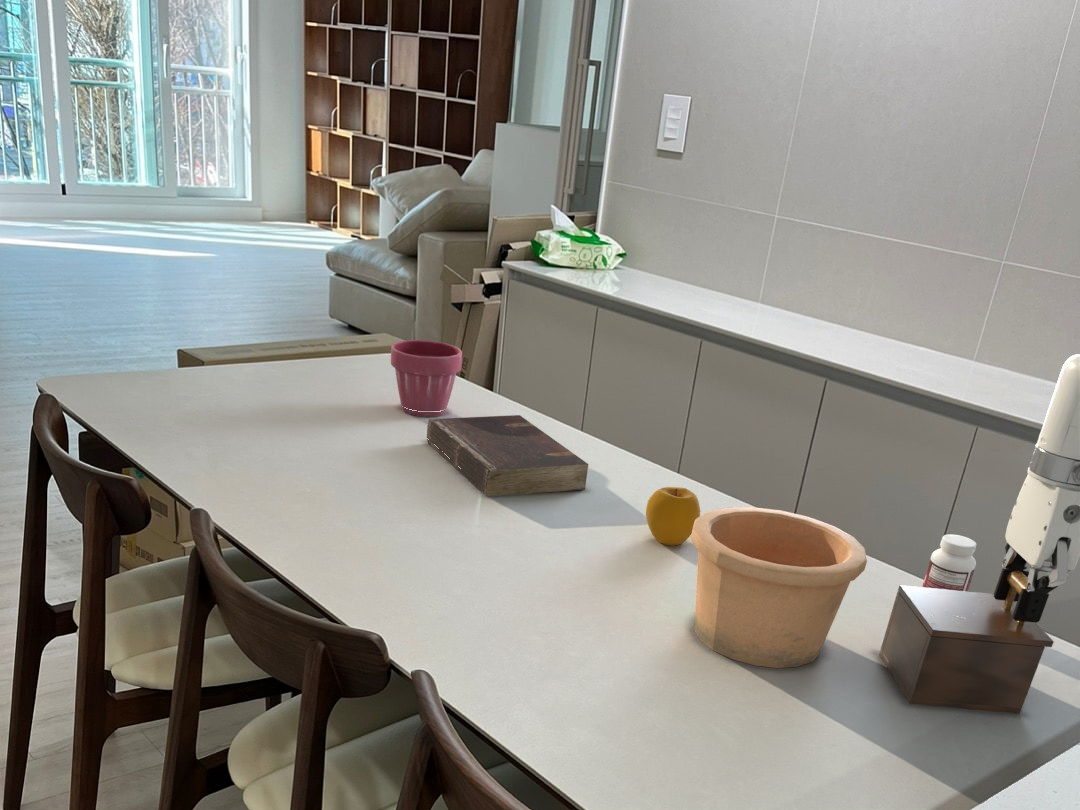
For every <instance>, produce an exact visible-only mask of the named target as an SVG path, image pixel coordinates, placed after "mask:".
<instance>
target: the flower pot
mask: <svg viewBox="0 0 1080 810" xmlns="http://www.w3.org/2000/svg"><path fill="white" fill-rule="evenodd" d="M462 363H463V351H462V349H461V348H459V347H457V346H456V345H453V344H449V343H446V342H443V341H442V342H441V341H435V340H428V339H427V340H426V339H405V340H400V341H396V342H394V343H393V344H391V347H390V365H391V366H392V367H393V368H394V370H395V377H396V385H397V391H398V395H399V400H400V406H401V405H402V406H403V407H402V406H401V407H400V408H401V411H403V412H404V413H406V414H408V415H412V416H415V417H416V416H417V417H425V418H426V417H427V418H430V417H432V418H433V417H440V416H442V415H445V414H446V411H447V409H446V408H448V405H449V403H450V399H451V397H452V391H453V388H454V385H455V381H456V380H455V379H456V376H457V374H458V373H459V372H460V371H461V370H462ZM404 407H406V408H408V409H406V408H404ZM409 409H412V410H417V411H412V410H409ZM444 409H446V410H444ZM440 410H444V411H441V412H418V411H440Z"/></svg>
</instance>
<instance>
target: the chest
mask: <svg viewBox="0 0 1080 810" xmlns="http://www.w3.org/2000/svg"><path fill="white" fill-rule="evenodd" d="M1045 648H1046V647H1044V646H1033V645H1022V644H1011V643H1001V642H990V641H979V640H968V639H958V638H947V637H936V636H931V635H930V633H929V632H928V631H927V629H926V628H925V627H924V625H923V624H922V622H921V621H920V620H919V618H918V617H917V616H916V614H915V613H914V612H913V610H912V609H911V607H910V606H909V605H908V603H907V602H906V601H905V599H904V598H903V597H902V595H901V594H900V593H899V591H898V590H897V592H896V595H895V598H894V602H893V607H892V609H891V612H890V616H889V619H888V623H887V626H886V629H885V633H884V636H883V640H882V643H881V647H880V650H879V653H878V654H879V656H880V658H881V660H882V662H883V663H884V664H885V665H884V666H886V668H887V670H888V671H889V673H890V675H891V676H892V678H893V679H894V681H895V682H896V684H897V686H898V687H899V689H900V691H901V693H902V694H903V695H904V697H905V698H906V701H907V702H908V703H909V705H917V706H919V705H920V706H929V707H939V708H952V709H960V710H961V709H963V710H974V711H986V712H996V713H1005V714H1006V713H1008V714H1009V713H1010V714H1016V715H1017V714H1018V715H1020V714H1021V712H1022V709H1023V708H1024V707H1023V706H1024V704H1025V701H1026V699H1027V696H1028V694H1029V691H1030V688H1031V685H1032V682H1033V680H1034V677H1035V675H1036V673H1037V669H1038V667H1039V664H1040V662H1041V659H1042V656H1043V653H1044V651H1045Z"/></svg>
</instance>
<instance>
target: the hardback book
mask: <svg viewBox="0 0 1080 810" xmlns="http://www.w3.org/2000/svg"><path fill="white" fill-rule="evenodd" d="M426 428H427V429H426V440H427V444H428V445H429V446H430V447H432V449H433V450H434V451H436V452H437V453H438V454H439V455H440V456H441V457H442V458H443V459H444V460H446V461H447V463H449V465H451V466H452V467H453V468H454V469H455V470H456V471H457V472H458V473H459V474H461V475H462V476H463V477H464V478H465V479H466V480H467V481H468V482H470V484H472V486H474V487H475V488H476V489H477V490H478V491H479V492H480V493H483V494H484V496H486V497H499V496H516V495H517V496H518V495H533V494H534V495H535V494H546V493H547V494H548V493H549V494H550V493H560V492H562V493H563V492H574V491H585V490H586V484H587V477H588V470H589V463H588V462H586V461H585V460H584V459H582V458H580V457H579V455H576V454H575V453H574V452H572V451H571V450H570V449H568V448H567V447H565V446H564V445H563V444H561V443H559V442H558V441H557V440H556V439H554V438H553V437H551V436H550V435H549V434H547V433H546V432H545V431H543V430H542V429H540V428H539V427H538V426H536V425H534V424H533V423H532V422H530V421H529V420H527V419H526V418H525V417H523V416H522V415H520V414H515V415H514V414H513V415H512V414H511V415H493V416H492V415H491V416H469V417H468V416H467V417H466V416H465V417H447V418H446V417H445V418H429V419H428V422H427V427H426ZM427 438H428V439H429V440H428V439H427ZM434 444H435V445H436V446H437V447H438V448H439V449H438V448H437V447H436V446H435V445H434ZM442 451H443V452H442ZM444 453H445V454H446V455H447V456H448V457H449V458H450V459H449V458H448V457H447V456H446V455H445V454H444ZM458 466H459V467H460V468H461V469H460V468H459V467H458Z"/></svg>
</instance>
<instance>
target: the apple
mask: <svg viewBox="0 0 1080 810" xmlns="http://www.w3.org/2000/svg"><path fill="white" fill-rule="evenodd" d="M645 507H646V509H645V517H646V518H645V519H646V524H647V526H648V529H649V531H650V533H651V535H652V537H654V539H655V540H656V541H657V542H658V543H659V544H662V545H664V546H671V547H672V546H673V547H674V546H678V545H679V546H680V545H681V544H683V543H685V542H686V541H687V540H688V539H689V538H691V534H692V529H693V526H694V522H695V520H696V518H698V517H700V516H701V507H700V501H699V499H698V496H697V494H695V493H694V492H692V491H691V490H689V489H688V488H686V487H679V486H677V487H676V486H665V487H661V488H658V489H657V490H655V491H654V492H653V493H652V495H651V496H649V499H648V500H647V503H646V506H645Z"/></svg>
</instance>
